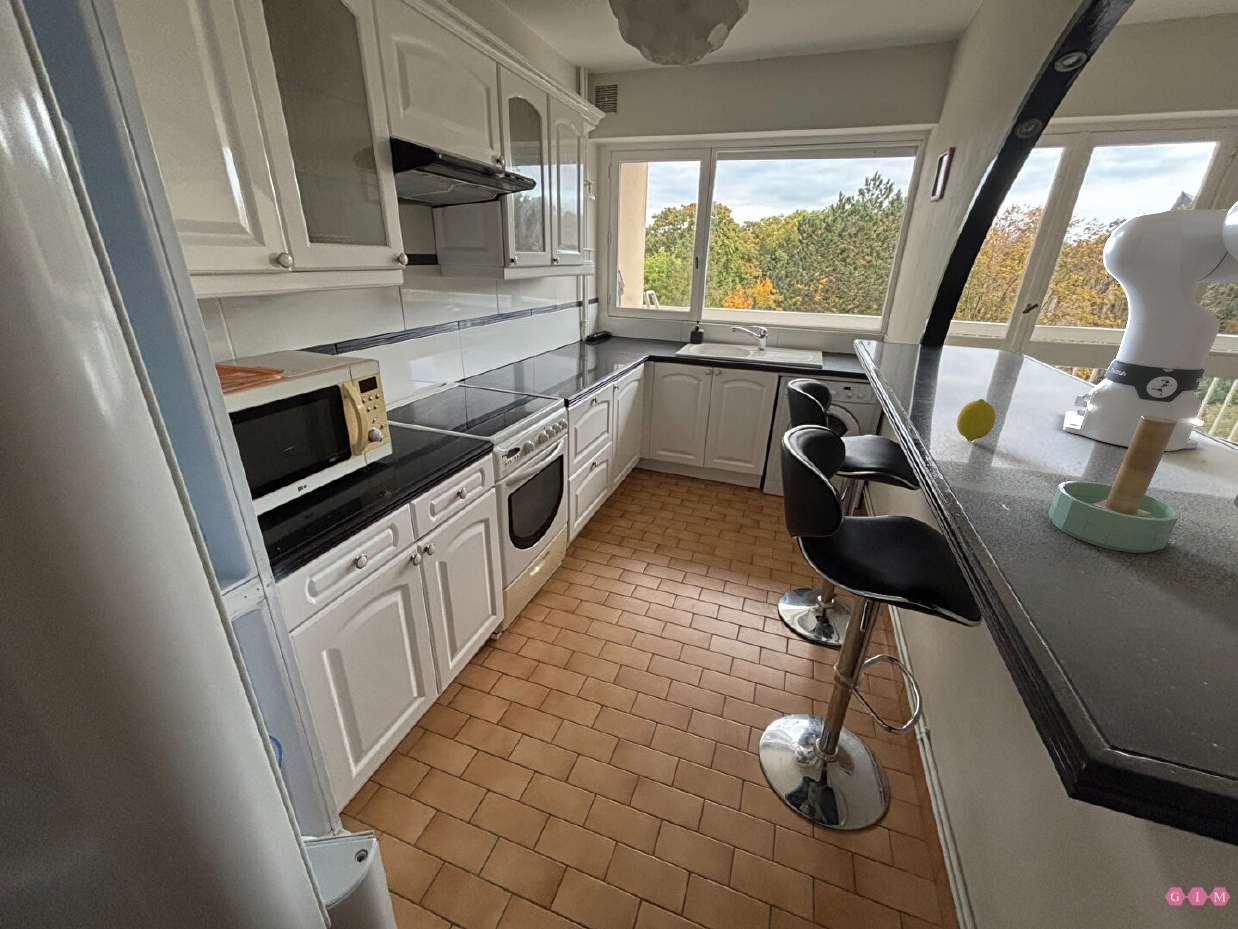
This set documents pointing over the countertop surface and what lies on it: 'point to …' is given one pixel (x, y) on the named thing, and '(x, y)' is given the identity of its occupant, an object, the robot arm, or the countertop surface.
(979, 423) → the lemon
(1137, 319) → the robot arm
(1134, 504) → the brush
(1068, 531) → the bowl
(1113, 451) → the countertop surface
